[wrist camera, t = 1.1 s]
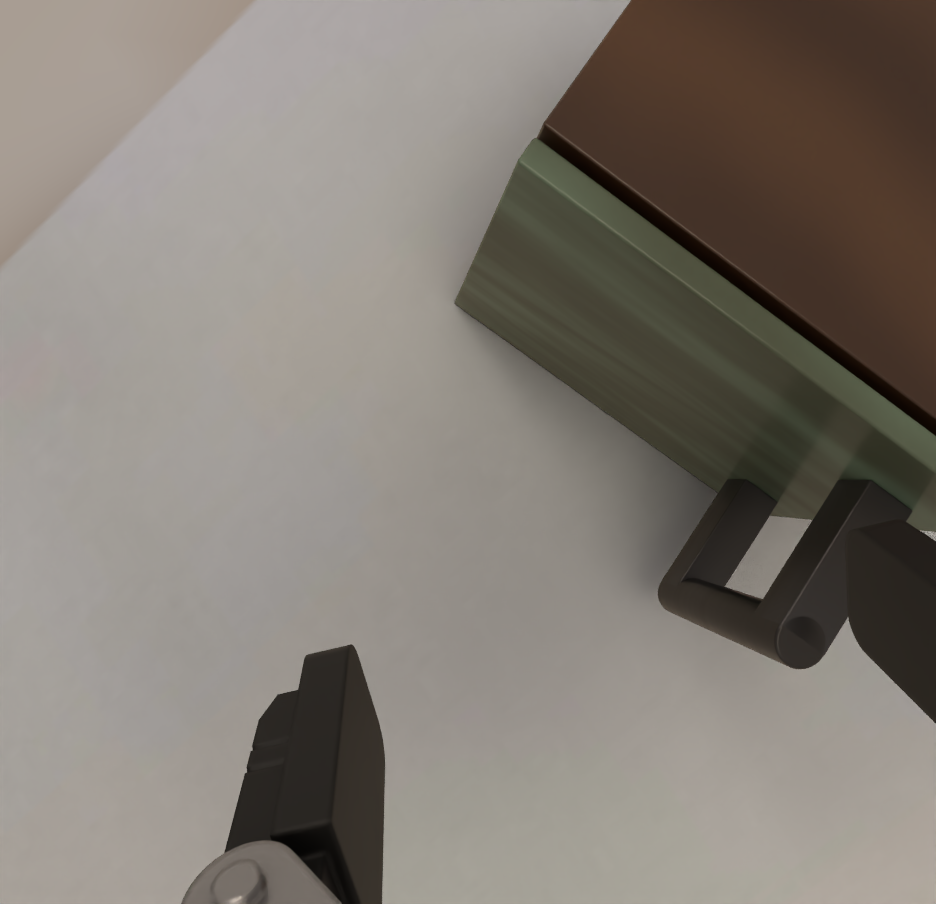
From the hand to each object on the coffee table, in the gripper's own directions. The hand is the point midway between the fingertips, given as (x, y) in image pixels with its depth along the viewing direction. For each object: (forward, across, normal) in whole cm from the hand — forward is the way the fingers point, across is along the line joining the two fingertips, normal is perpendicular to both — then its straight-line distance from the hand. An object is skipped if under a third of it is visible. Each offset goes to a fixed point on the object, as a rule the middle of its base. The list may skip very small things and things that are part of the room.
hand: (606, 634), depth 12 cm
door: (+20, -3, +5) cm, 21 cm away
